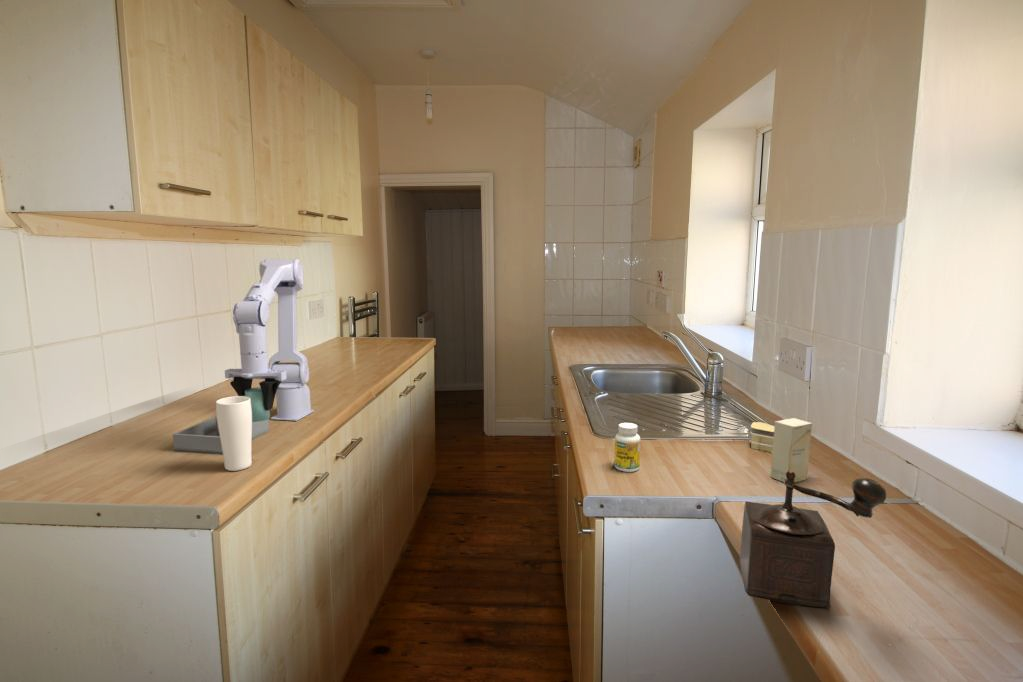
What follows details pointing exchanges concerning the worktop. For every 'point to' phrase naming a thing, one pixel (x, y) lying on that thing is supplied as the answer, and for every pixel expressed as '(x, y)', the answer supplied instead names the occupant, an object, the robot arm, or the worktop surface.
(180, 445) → the tray
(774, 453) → the skincare box
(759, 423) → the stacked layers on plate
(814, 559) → the manual coffee grinder
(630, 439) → the supplement bottle
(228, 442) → the drinking glass
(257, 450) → the worktop surface
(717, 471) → the worktop surface
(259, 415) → the teal cylinder
